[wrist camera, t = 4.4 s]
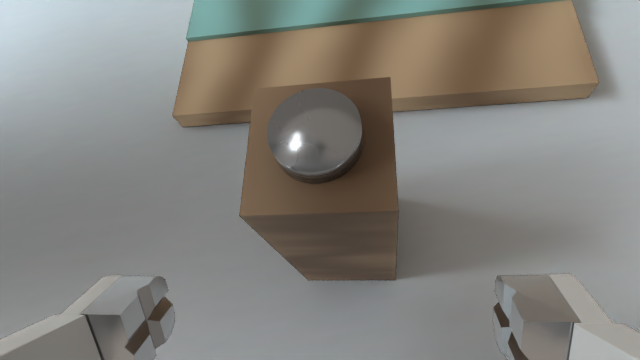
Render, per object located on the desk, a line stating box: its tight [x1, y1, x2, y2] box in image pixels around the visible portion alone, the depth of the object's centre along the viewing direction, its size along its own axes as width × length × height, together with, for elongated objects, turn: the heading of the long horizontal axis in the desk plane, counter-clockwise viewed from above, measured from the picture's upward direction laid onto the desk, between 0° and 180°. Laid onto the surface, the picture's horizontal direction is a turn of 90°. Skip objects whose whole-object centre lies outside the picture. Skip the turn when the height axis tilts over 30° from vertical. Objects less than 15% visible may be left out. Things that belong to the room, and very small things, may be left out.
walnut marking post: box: [239, 77, 398, 280], centre depth 14 cm, size 4×4×10 cm
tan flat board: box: [172, 0, 599, 127], centre depth 24 cm, size 22×15×2 cm
